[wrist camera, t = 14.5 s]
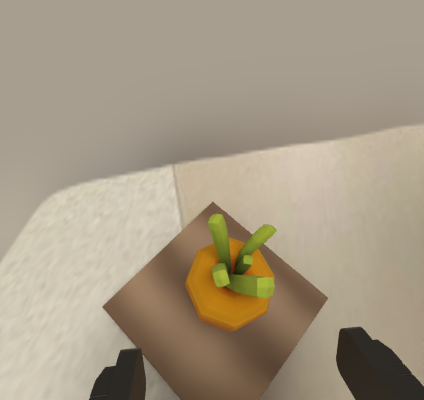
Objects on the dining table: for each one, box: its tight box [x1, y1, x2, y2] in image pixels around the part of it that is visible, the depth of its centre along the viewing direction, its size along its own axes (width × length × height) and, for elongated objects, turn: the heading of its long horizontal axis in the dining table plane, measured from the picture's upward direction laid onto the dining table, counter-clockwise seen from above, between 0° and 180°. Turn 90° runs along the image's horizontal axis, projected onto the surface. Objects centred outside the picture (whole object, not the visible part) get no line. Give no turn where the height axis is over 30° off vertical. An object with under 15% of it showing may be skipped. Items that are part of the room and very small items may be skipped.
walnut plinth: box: [103, 202, 328, 400], centre depth 25 cm, size 14×14×3 cm
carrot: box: [185, 214, 277, 332], centre depth 17 cm, size 5×5×15 cm
